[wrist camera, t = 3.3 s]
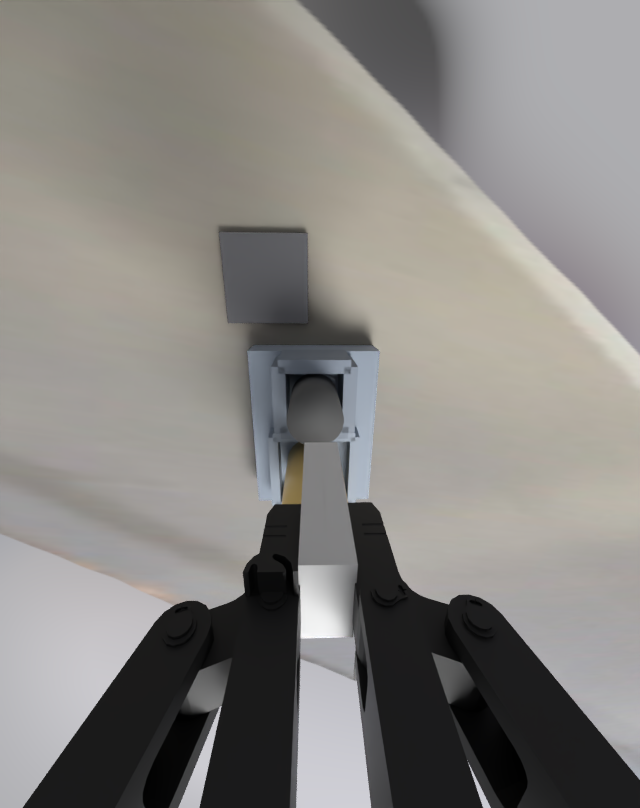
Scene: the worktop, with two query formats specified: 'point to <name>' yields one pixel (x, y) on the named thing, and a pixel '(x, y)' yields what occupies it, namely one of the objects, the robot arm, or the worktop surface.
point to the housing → (271, 397)
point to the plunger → (314, 410)
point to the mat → (265, 276)
